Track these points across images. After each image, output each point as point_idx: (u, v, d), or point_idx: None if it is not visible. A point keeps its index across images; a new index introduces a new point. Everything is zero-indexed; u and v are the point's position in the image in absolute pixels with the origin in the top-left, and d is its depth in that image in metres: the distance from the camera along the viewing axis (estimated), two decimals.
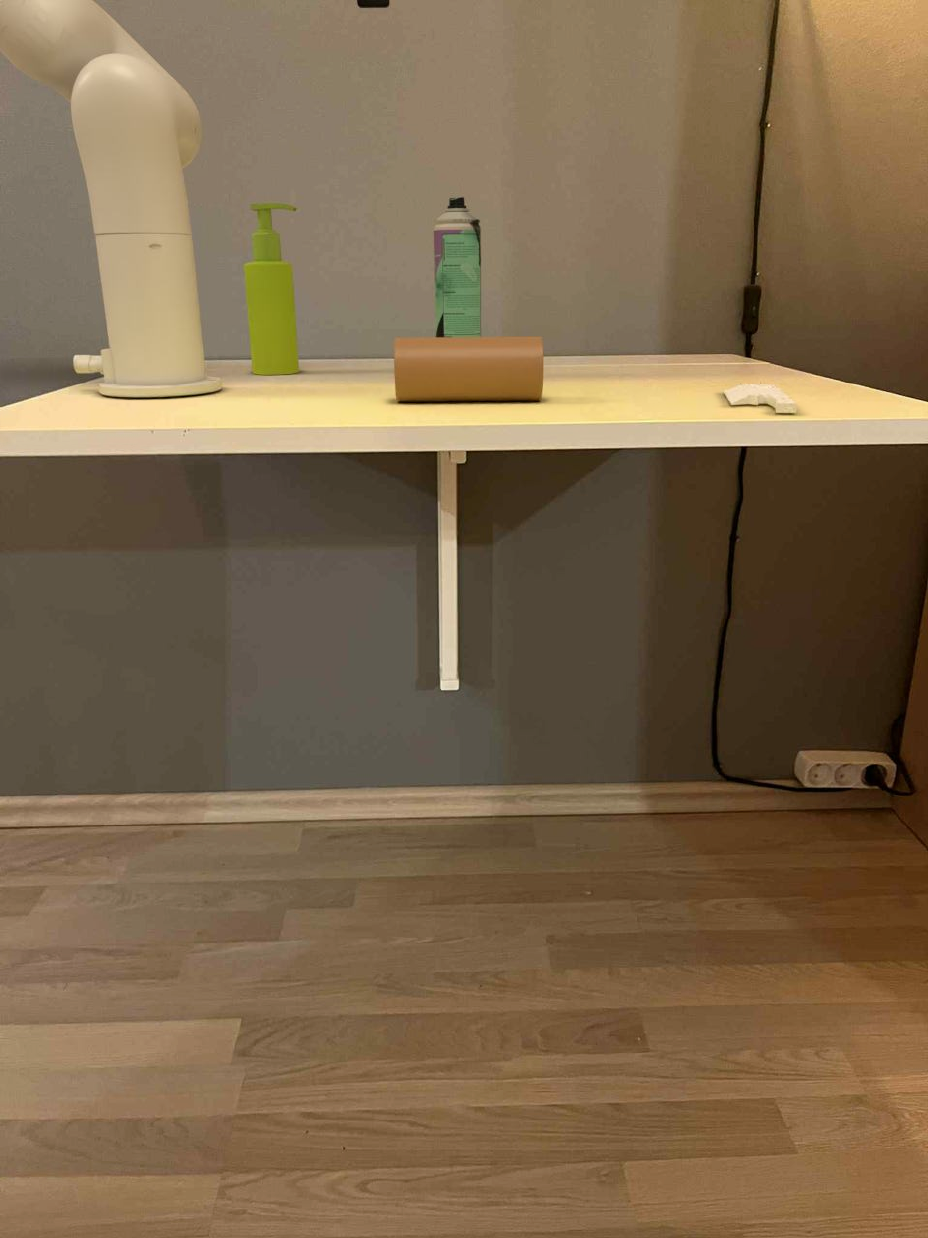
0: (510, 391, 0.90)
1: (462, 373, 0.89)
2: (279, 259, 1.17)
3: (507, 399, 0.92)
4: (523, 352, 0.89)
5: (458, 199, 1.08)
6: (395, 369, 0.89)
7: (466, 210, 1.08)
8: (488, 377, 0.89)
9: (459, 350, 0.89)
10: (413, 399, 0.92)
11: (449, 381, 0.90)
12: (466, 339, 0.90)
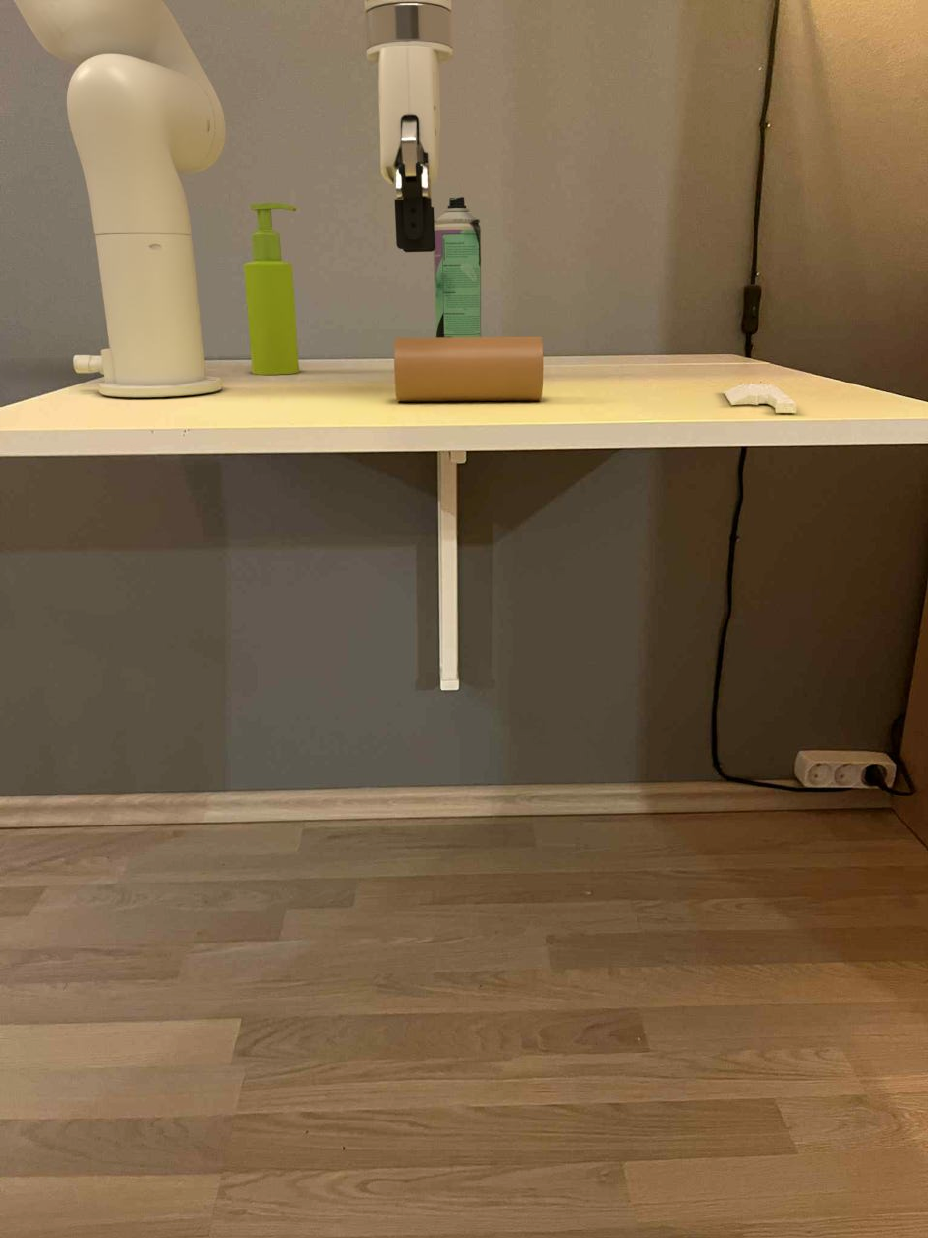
0: (510, 391, 0.90)
1: (462, 373, 0.89)
2: (279, 259, 1.17)
3: (507, 399, 0.92)
4: (523, 352, 0.89)
5: (458, 199, 1.08)
6: (395, 369, 0.89)
7: (466, 210, 1.08)
8: (488, 377, 0.89)
9: (459, 350, 0.89)
10: (413, 399, 0.92)
11: (449, 381, 0.90)
12: (466, 339, 0.90)
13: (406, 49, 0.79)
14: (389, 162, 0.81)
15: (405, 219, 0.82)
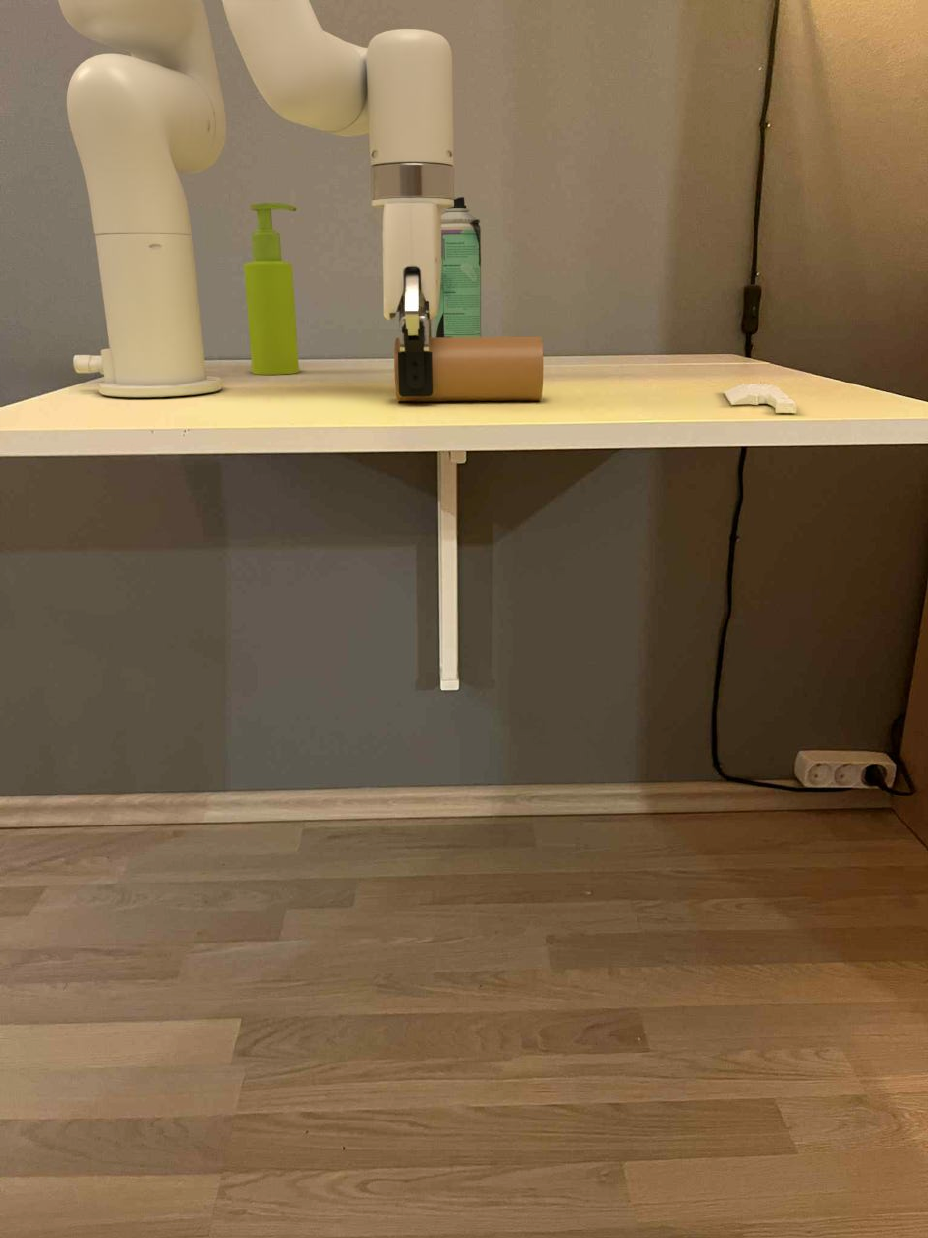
0: (510, 391, 0.90)
1: (462, 373, 0.89)
2: (279, 259, 1.17)
3: (507, 399, 0.92)
4: (523, 352, 0.89)
5: (458, 199, 1.08)
6: (395, 369, 0.89)
7: (466, 210, 1.08)
8: (488, 377, 0.89)
9: (459, 350, 0.89)
10: (413, 399, 0.92)
11: (449, 381, 0.90)
12: (466, 339, 0.90)
13: (409, 206, 0.83)
14: (392, 309, 0.85)
15: (407, 371, 0.88)
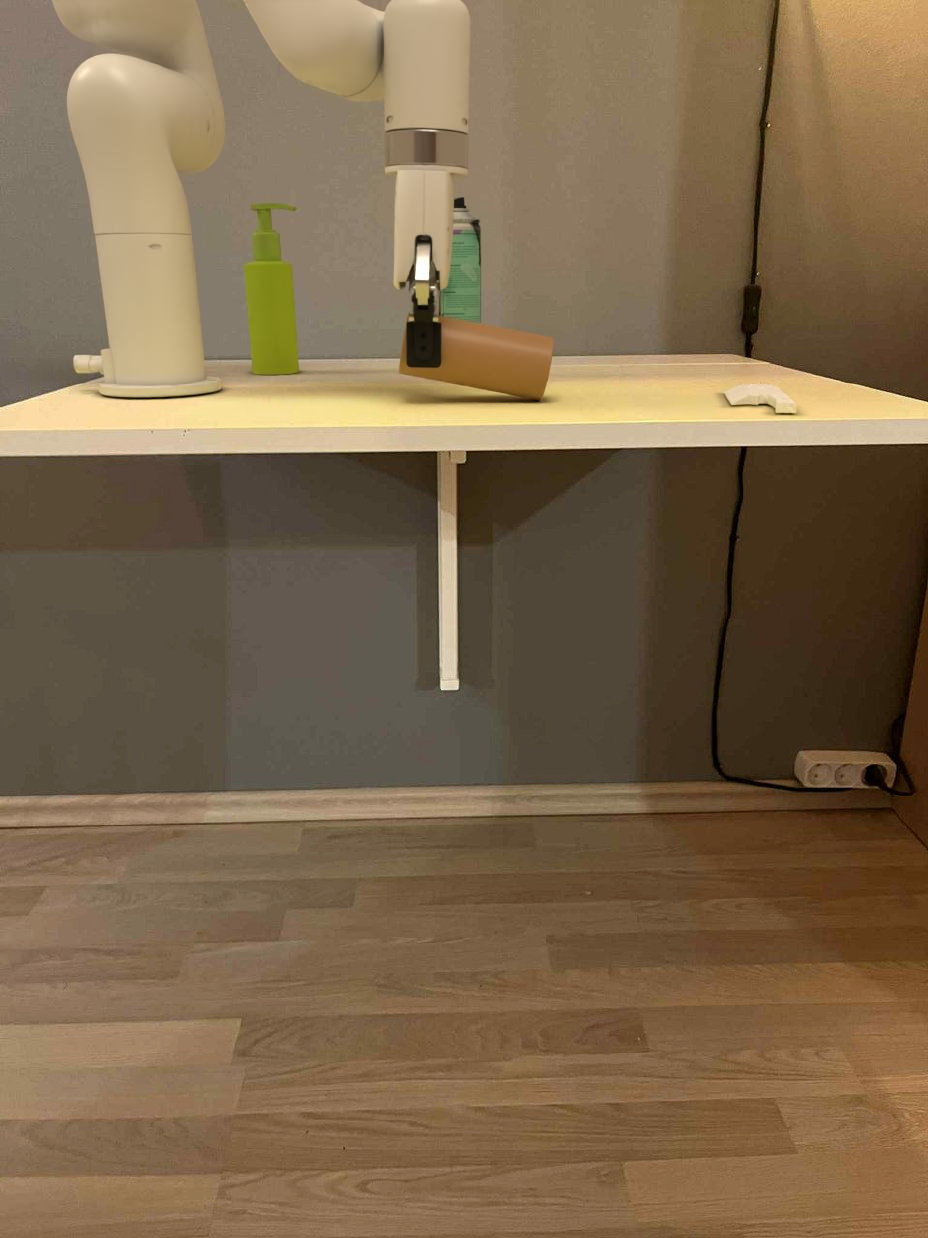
0: (513, 385, 0.90)
1: (469, 358, 0.89)
2: (279, 259, 1.17)
3: (508, 392, 0.92)
4: (533, 349, 0.89)
5: (458, 199, 1.08)
6: (404, 340, 0.88)
7: (466, 210, 1.08)
8: (494, 367, 0.89)
9: (471, 334, 0.89)
10: (415, 374, 0.91)
11: (455, 363, 0.89)
12: (479, 325, 0.90)
13: (423, 173, 0.82)
14: (402, 278, 0.84)
15: (416, 342, 0.87)
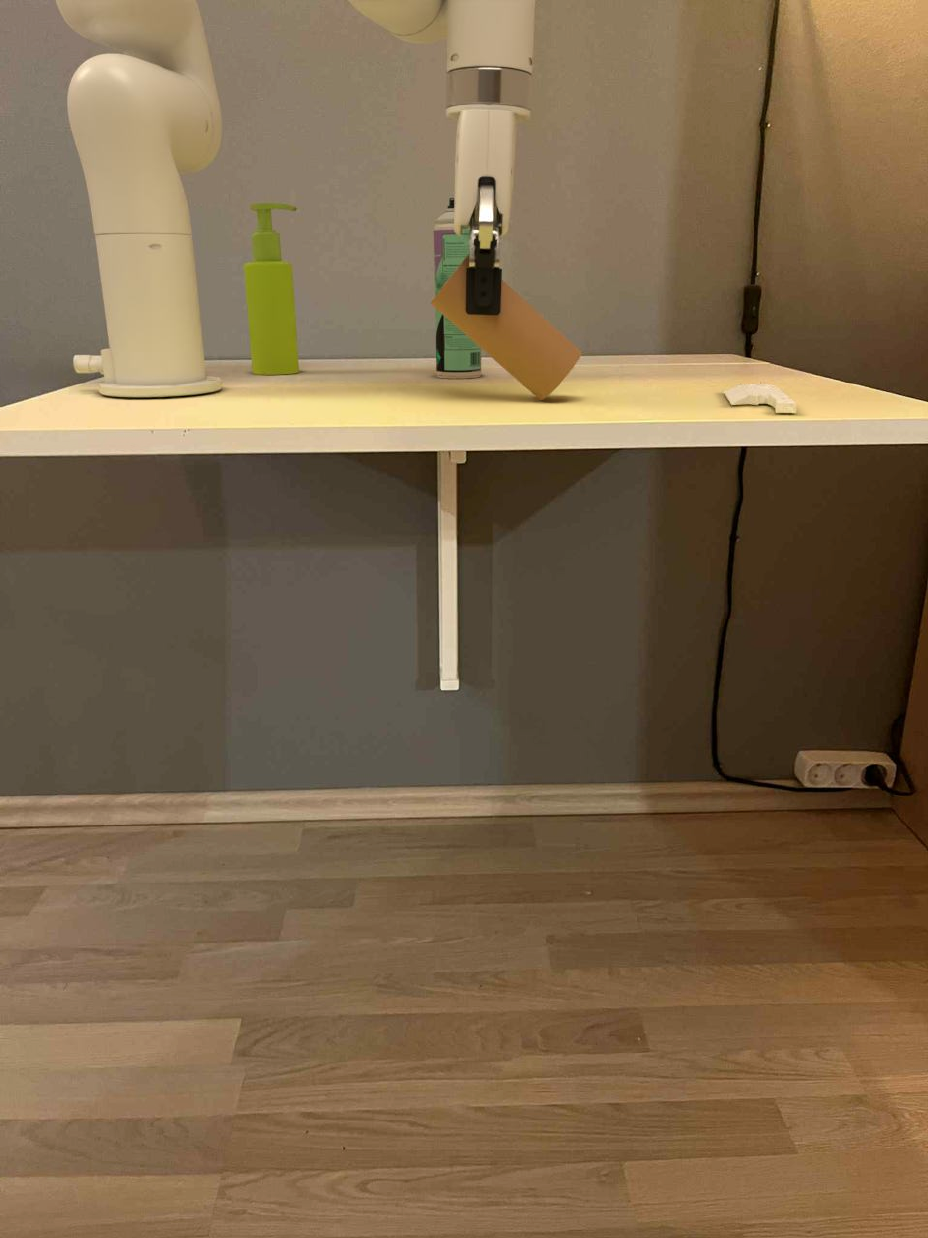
0: (525, 373, 0.90)
1: (502, 325, 0.88)
2: (279, 259, 1.17)
3: (517, 377, 0.91)
4: (560, 351, 0.89)
5: None
6: (452, 275, 0.86)
7: None
8: (518, 346, 0.88)
9: (514, 305, 0.88)
10: (445, 312, 0.89)
11: (486, 323, 0.88)
12: (525, 302, 0.89)
13: (487, 112, 0.80)
14: (464, 221, 0.83)
15: (476, 287, 0.85)
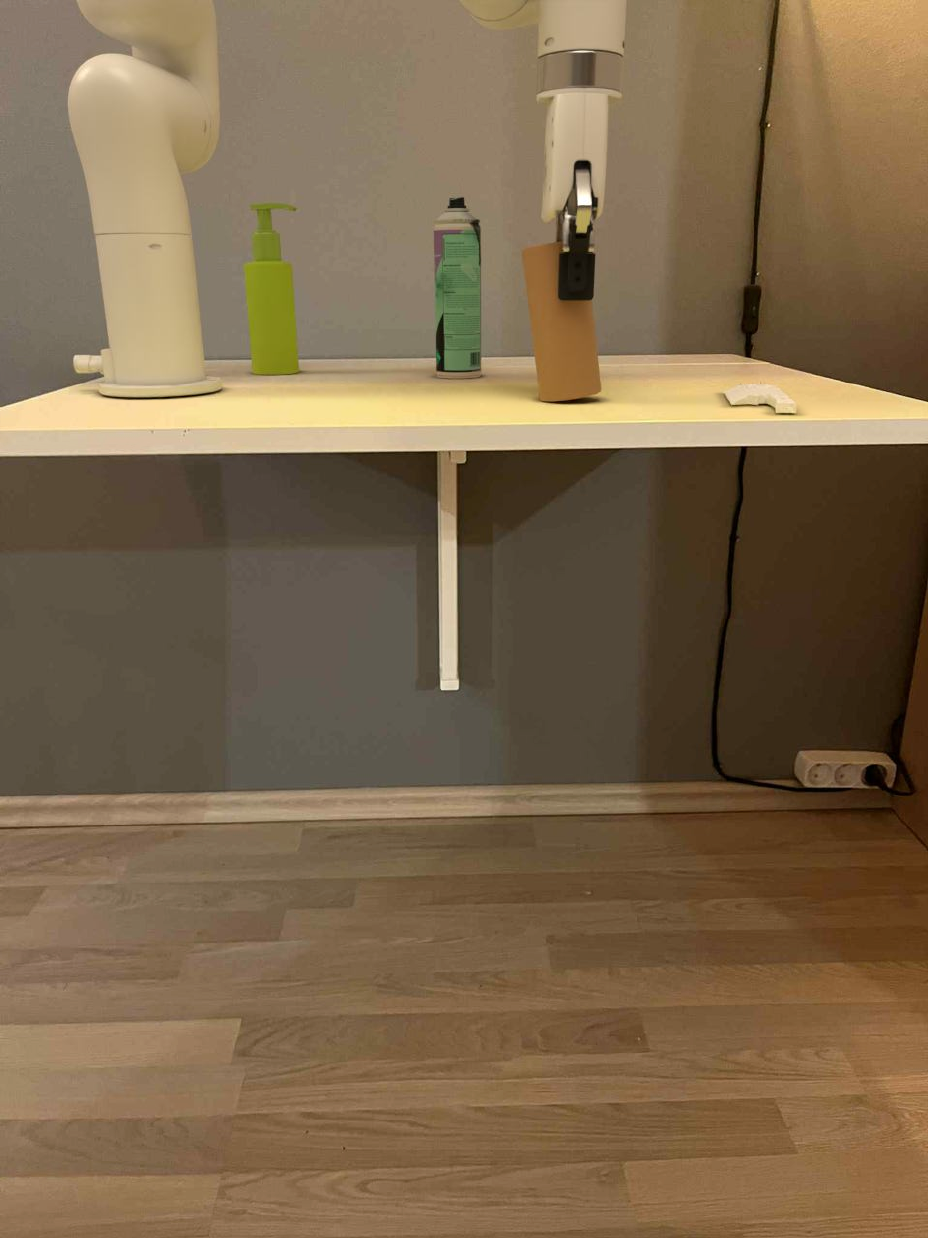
0: (549, 368, 0.90)
1: (563, 316, 0.87)
2: (279, 259, 1.17)
3: (539, 366, 0.91)
4: (588, 375, 0.90)
5: (458, 199, 1.08)
6: (559, 242, 0.85)
7: (466, 210, 1.08)
8: (562, 343, 0.88)
9: (584, 309, 0.88)
10: (527, 266, 0.87)
11: (553, 303, 0.87)
12: (592, 314, 0.89)
13: (583, 96, 0.80)
14: (559, 205, 0.82)
15: (570, 273, 0.85)
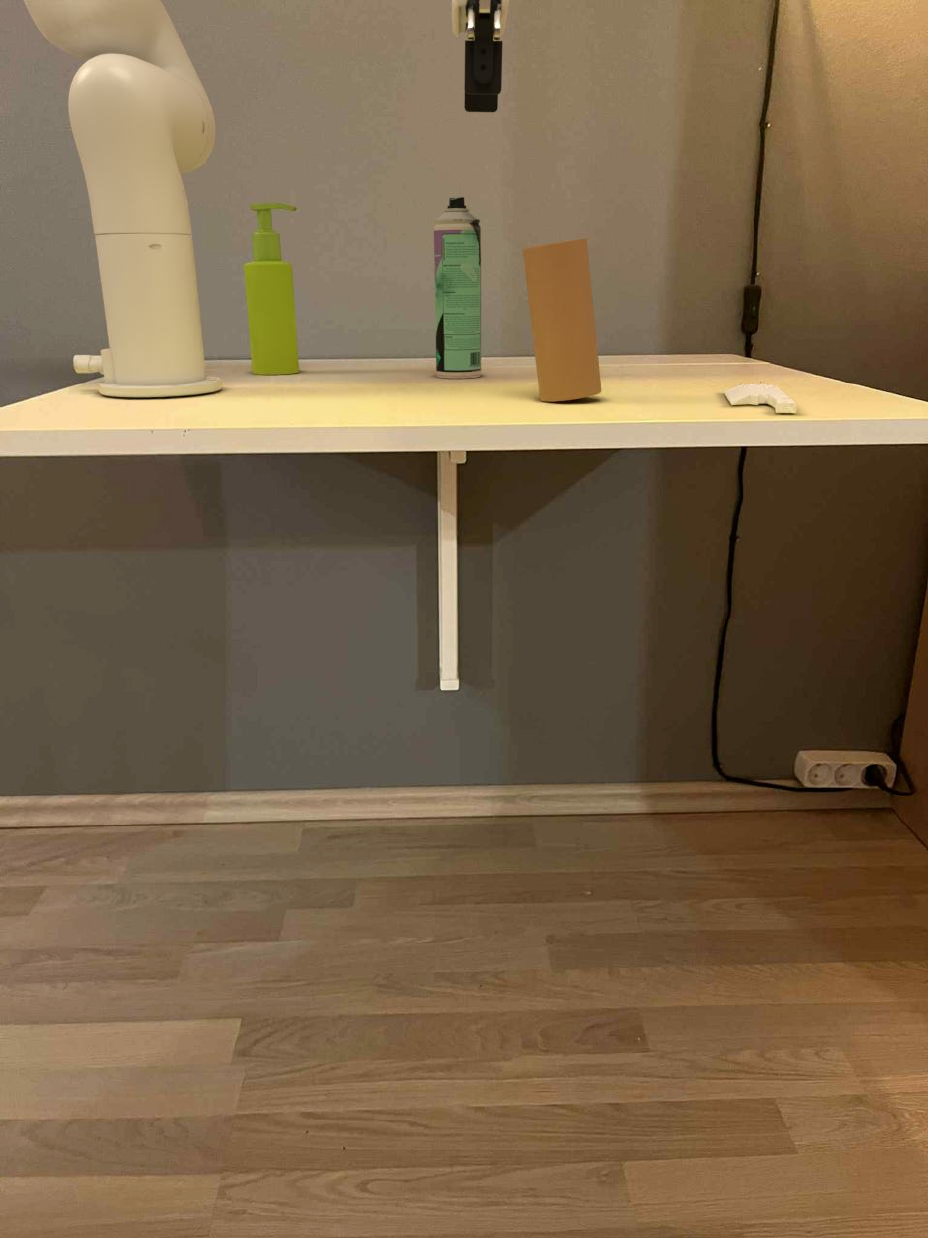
0: (549, 369, 0.90)
1: (564, 316, 0.87)
2: (279, 259, 1.17)
3: (539, 366, 0.91)
4: (589, 376, 0.90)
5: (458, 199, 1.08)
6: (560, 243, 0.85)
7: (466, 210, 1.08)
8: (562, 343, 0.88)
9: (585, 309, 0.88)
10: (529, 266, 0.87)
11: (554, 303, 0.87)
12: (593, 315, 0.89)
13: None
14: (462, 1, 0.80)
15: (475, 60, 0.81)
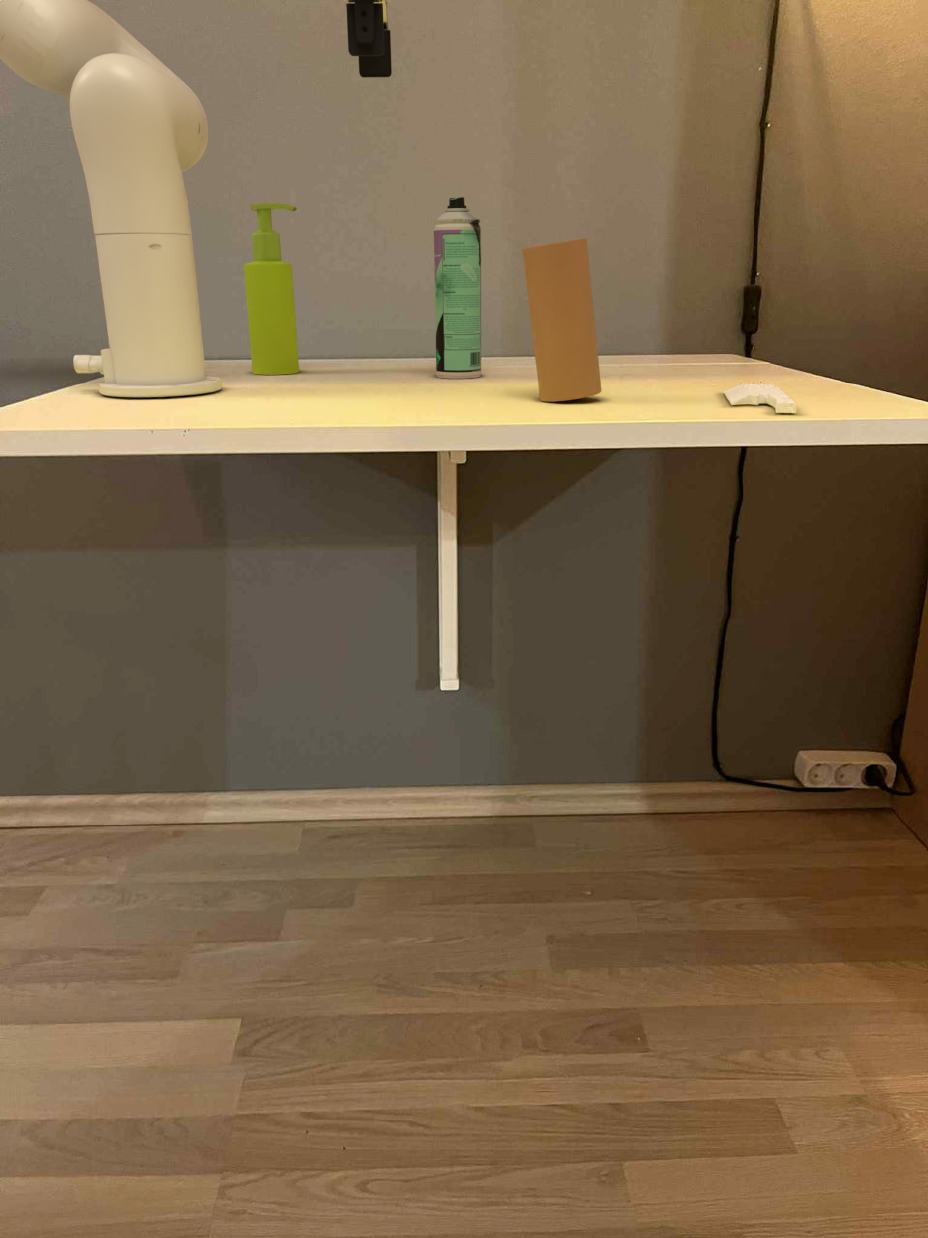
0: (549, 369, 0.90)
1: (564, 316, 0.87)
2: (279, 259, 1.17)
3: (539, 366, 0.91)
4: (589, 376, 0.90)
5: (458, 199, 1.08)
6: (560, 243, 0.85)
7: (466, 210, 1.08)
8: (562, 343, 0.88)
9: (585, 309, 0.88)
10: (529, 266, 0.87)
11: (554, 303, 0.87)
12: (593, 315, 0.89)
13: None
14: None
15: (356, 22, 0.84)
